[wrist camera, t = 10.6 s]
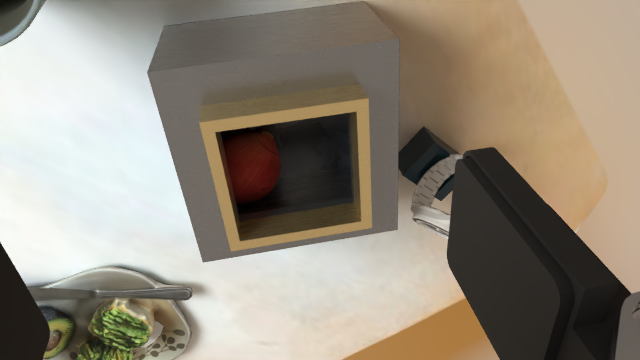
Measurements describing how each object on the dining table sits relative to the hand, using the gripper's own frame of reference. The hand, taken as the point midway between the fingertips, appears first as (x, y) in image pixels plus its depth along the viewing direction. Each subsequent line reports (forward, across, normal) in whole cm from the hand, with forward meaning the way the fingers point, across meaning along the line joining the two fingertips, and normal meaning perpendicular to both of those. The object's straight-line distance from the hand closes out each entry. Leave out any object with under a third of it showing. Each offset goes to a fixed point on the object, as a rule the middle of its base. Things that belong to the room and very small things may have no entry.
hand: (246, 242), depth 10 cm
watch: (+32, -16, +20) cm, 41 cm away
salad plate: (+33, +21, +35) cm, 52 cm away
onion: (+29, -1, +13) cm, 32 cm away
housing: (+32, -2, +12) cm, 34 cm away
